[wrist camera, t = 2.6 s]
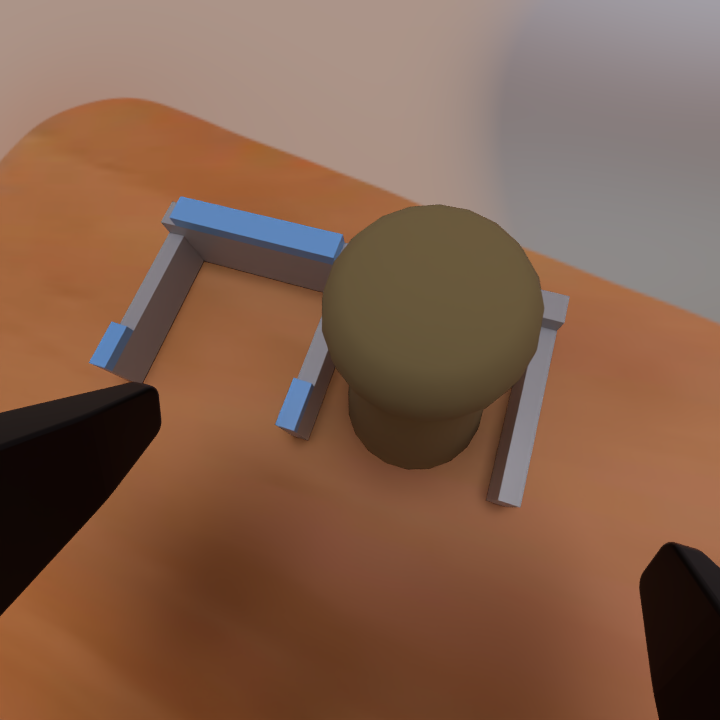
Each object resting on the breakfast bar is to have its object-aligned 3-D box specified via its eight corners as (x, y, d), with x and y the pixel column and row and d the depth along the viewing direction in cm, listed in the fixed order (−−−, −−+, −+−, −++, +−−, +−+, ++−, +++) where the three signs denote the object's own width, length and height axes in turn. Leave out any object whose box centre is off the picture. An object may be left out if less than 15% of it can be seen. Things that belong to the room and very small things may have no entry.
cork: (325, 377, 20) (244, 236, 9) (435, 317, 20) (476, 120, 10) (388, 495, 18) (376, 486, 7) (509, 426, 18) (659, 325, 8)
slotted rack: (127, 379, 20) (73, 355, 17) (200, 239, 23) (165, 192, 19) (505, 506, 17) (532, 507, 14) (544, 326, 19) (575, 289, 16)
